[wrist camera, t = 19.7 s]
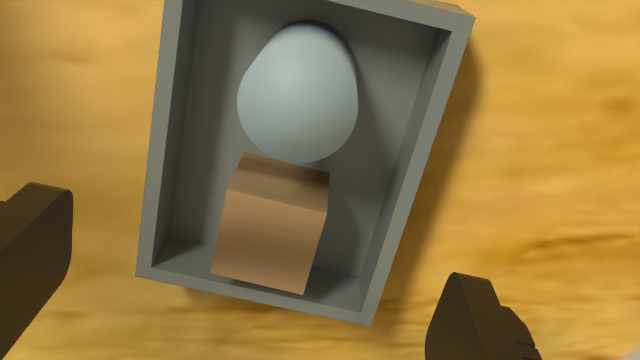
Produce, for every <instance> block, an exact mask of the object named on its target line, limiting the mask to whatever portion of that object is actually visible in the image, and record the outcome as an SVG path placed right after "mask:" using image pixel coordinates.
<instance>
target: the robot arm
mask: <svg viewBox="0 0 640 360" xmlns="http://www.w3.org/2000/svg"><path fill="white" fill-rule="evenodd" d="M72 224H73V195H72V192H71V191H70V190H68V189H63V188H58V187H53V186H49V185H44V184H39V183H34V182H30V183H28V184H27V185H25V186H24V187H23V188H22V189H21V190H19V191H18V192H17V193H16V194H15V195H13V196H12V197H11V198H10V199H9V200H7V201H6V202H5V201H0V360H2V359H3V358H4V356H5V355H6V354H7V353H8V351H9V350H10V349H11V347H12V346H13V345H14V344H15V342H16V341H17V340H18V338H19V337H20V336H21V335H22V333H23V332H24V331H25V329H26V328H27V327H28V326H29V324H30V323H31V322H32V320H33V319H34V318H35V317H36V315H37V314H38V313H39V311H40V310H41V309H42V308H43V306H44V305H45V304H46V302H47V301H48V300H49V299H50V297H51V296H52V295H53V293H54V292H55V291H56V290H57V288H58V287H59V286H60V284H61V283H62V281H63V280H64V278H65V276H66V273H67V271H68V268H69V264H70V260H71V252H72ZM425 359H426V360H542V358H541V356H540V354H539V352H538V350H537V349H535V343H534V341H533V339H532V337H531V335H530V332H529V330H528V328H527V326H526V325H525V324H524V323H523V322H522V321H521V320H520V318H519V317H518V316H517V315H516V314H515V313H514V312H513V311H512V310H511V309H510V308H509V307H504V306H501V305H500V303H499V301H498V298H497V296H496V293H495V291H494V289H493V286H492V284H491V282H490V281H489V280H488V279H485V278H480V277H475V276H470V275H466V274H461V273H456V272H453V273H452V274H451V275H450V276H449V278H448V280H447V282H446V284H445V287H444V289H443V292H442V295H441V297H440V300H439V302H438V305H437V307H436V310H435V312H434V315H433V317H432V320H431V322H430V325H429V328H428V331H427V335H426V340H425Z"/></svg>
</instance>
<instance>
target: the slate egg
mask: <svg viewBox="0 0 640 360" xmlns="http://www.w3.org/2000/svg"><path fill="white" fill-rule="evenodd" d="M237 110H238V116H239V119H240V123H241V125H242V127H243V129H244V131H245V133H246V134H247V136H248V137H249V139H250V140H251V141H252V142H253V143H254V144H255V145H256V146H257V147H258V148H259V149H260V150H262V151H263V152H264V153H266V154H268V155H269V156H271V157H273V158H276V159H278V160H281V161H285V162H290V163H309V162H314V161H317V160H320V159H323V158H325V157H327V156H329V155H331V154H332V153H334V152H335V151H337V150H338V149H339V148H340V147H341V146H342V145H343V144H344V143H345V142H346V141H347V139H348V138H349V136H350V135H351V133H352V131H353V129H354V126H355V123H356V120H357V115H358V95H357V82H356V69H355V59H354V55H353V52H352V49H351V47H350V45H349V43H348V42H347V40H346V39H345V38H344V37H343V35H342V34H341V33H340V32H338V31H337V30H336V29H335V28H333V27H331V26H330V25H328V24H325V23H323V22H320V21H315V20H299V21H295V22H292V23H289V24H287V25H285V26H283V27H282V28H280V29H279V30H278V31H276V32H275V33H274V34H273V35H272V37H271V38H270V39H269V40H268V42H267V43H266V45H265V46H264V47H263V49H262V50H261V52H260V53H259V54H258V56H257V57H256V59H255V60H254V61H253V63H252V64H251V66H250V67H249V68H248V70H247V71H246V73H245V75H244V77H243V78H242V81H241V83H240V86H239V90H238V96H237Z"/></svg>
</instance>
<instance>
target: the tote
mask: <svg viewBox="0 0 640 360" xmlns="http://www.w3.org/2000/svg"><path fill="white" fill-rule="evenodd" d="M475 18H476V17H474V16H473V15H471V14H470V13H468V12H467V11H465V10H464V9H462V8H460V7H459V6H455V5H451V4H447V3H443V2H439V1H435V0H165V1H164V11H163V20H162V29H161V39H160V48H159V58H158V67H157V76H156V86H155V95H154V105H153V114H152V123H151V133H150V142H149V152H148V161H147V171H146V180H145V189H144V199H143V208H142V218H141V227H140V236H139V246H138V255H137V265H136V274H135V276H136V277H140V278H145V279H150V280H155V281H159V282H164V283H169V284H173V285H178V286H183V287H187V288H192V289H197V290H201V291H206V292H211V293H215V294H220V295H225V296H229V297H234V298H239V299H243V300H248V301H253V302H257V303H262V304H267V305H271V306H276V307H281V308H286V309H290V310H295V311H300V312H304V313H309V314H314V315H318V316H323V317H328V318H332V319H337V320H342V321H346V322H351V323H356V324H360V325H365V326H370V327H371V325H372V322H373V319H374V316H375V313H376V311H377V308H378V305H379V302H380V299H381V296H382V293H383V290H384V287H385V284H386V281H387V278H388V275H389V272H390V269H391V266H392V263H393V260H394V257H395V254H396V251H397V249H398V246H399V243H400V240H401V237H402V234H403V231H404V228H405V225H406V222H407V219H408V216H409V213H410V210H411V207H412V204H413V201H414V198H415V195H416V192H417V190H418V187H419V184H420V181H421V178H422V175H423V172H424V169H425V166H426V163H427V160H428V157H429V154H430V151H431V148H432V145H433V142H434V139H435V136H436V133H437V131H438V128H439V125H440V122H441V119H442V116H443V113H444V110H445V107H446V104H447V101H448V98H449V95H450V92H451V89H452V86H453V83H454V80H455V77H456V74H457V71H458V69H459V66H460V63H461V60H462V57H463V54H464V51H465V48H466V45H467V42H468V39H469V36H470V33H471V30H472V27H473V24H474V21H475ZM299 20H315V21H320V22H323V23H325V24H328V25H330V26H331V27H333V28H335V29H336V30H337V31H338V32H340V33H341V34H342V35H343V37H344V38H345V39H346V40H347V42H348V43H349V45H350V47H351V49H352V52H353V55H354V59H355V69H356V82H357V95H358V115H357V120H356V123H355V126H354V129H353V131H352V133H351V135H350V136H349V138H348V139H347V141H346V142H345V143H344V144H343V145H342V146H341V147H340V148H339V149H338V150H337V151H335V152H334V153H332V154H331V155H329V156H327V157H325V158H323V159H320V160H317V161H314V162H309V163H292V164H296V165H300V166H303V167H307V168H311V169H315V170H319V171H323V172H327V173H330V176H329V191H328V206H327V216H326V219H325V222H324V226H323V229H322V233H321V236H320V239H319V243H318V246H317V249H316V253H315V256H314V260H313V263H312V266H311V270H310V273H309V277H308V280H307V283H306V287H305V290H304V294H303V295H301V294H297V293H292V292H288V291H284V290H280V289H275V288H271V287H267V286H263V285H258V284H254V283H250V282H246V281H241V280H237V279H233V278H229V277H224V276H220V275H216V274H212V273H210V270H211V265H212V260H213V255H214V250H215V245H216V240H217V235H218V230H219V225H220V221H221V216H222V211H223V206H224V201H225V196H226V191H227V188H228V186H229V184H230V181H231V179H232V177H233V175H234V173H235V171H236V168H237V166H238V164H239V162H240V160H241V158H242V155H243V153H244V152H248V153H252V154H256V155H260V156H264V157H268V158H272V159H276V158H273V157H271V156H269V155H268V154H266V153H264V152H263V151H262V150H260V149H259V148H258V147H257V146H256V145H255V144H254V143H253V142H252V141H251V140H250V139H249V137H248V136H247V134H246V133H245V131H244V129H243V127H242V125H241V123H240V119H239V116H238V110H237V96H238V90H239V86H240V83H241V81H242V78H243V77H244V75H245V73H246V71H247V70H248V68H249V67H250V66H251V64H252V63H253V61H254V60H255V59H256V57H257V56H258V54H259V53H260V52H261V50H262V49H263V47H264V46H265V45H266V43H267V42H268V40H269V39H270V38H271V37H272V35H273V34H274V33H275V32H276V31H278V30H279V29H280V28H282V27H283V26H285V25H287V24H289V23H292V22H295V21H299ZM276 160H278V159H276ZM280 161H281V160H280ZM284 162H285V161H284ZM288 163H290V162H288Z"/></svg>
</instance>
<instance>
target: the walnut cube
mask: <svg viewBox="0 0 640 360" xmlns="http://www.w3.org/2000/svg"><path fill="white" fill-rule="evenodd" d="M329 176H330V173H327V172H323V171H319V170H315V169H311V168H307V167H303V166H300V165H296V164H292V163H288V162H284V161H280V160H276V159H272V158H268V157H264V156H260V155H256V154H252V153H248V152H244V153H243V155H242V158H241V160H240V162H239V164H238V166H237V168H236V171H235V173H234V175H233V177H232V179H231V181H230V184H229V186H228V188H227V191H226V196H225V201H224V206H223V211H222V216H221V221H220V225H219V230H218V235H217V240H216V245H215V250H214V255H213V260H212V265H211V270H210V273H212V274H216V275H220V276H224V277H229V278H233V279H237V280H241V281H246V282H250V283H254V284H258V285H263V286H267V287H271V288H275V289H280V290H284V291H288V292H292V293H297V294H301V295H303V294H304V290H305V287H306V283H307V280H308V277H309V273H310V270H311V266H312V263H313V260H314V256H315V253H316V249H317V246H318V243H319V239H320V236H321V233H322V229H323V226H324V222H325V219H326V216H327V206H328V191H329Z"/></svg>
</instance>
